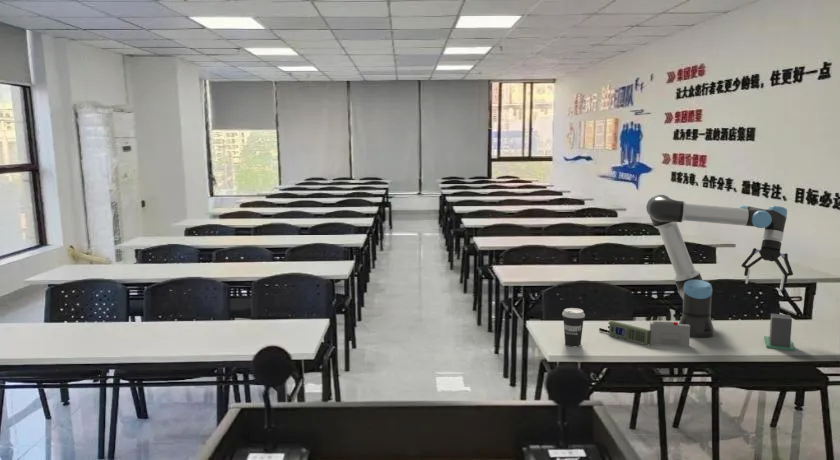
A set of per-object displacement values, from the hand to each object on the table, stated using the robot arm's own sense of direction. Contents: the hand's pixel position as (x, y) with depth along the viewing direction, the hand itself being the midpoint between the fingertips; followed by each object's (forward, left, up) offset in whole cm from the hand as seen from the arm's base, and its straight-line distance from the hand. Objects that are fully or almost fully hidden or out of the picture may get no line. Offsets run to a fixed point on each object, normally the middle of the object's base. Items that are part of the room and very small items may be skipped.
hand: (763, 286), depth 268 cm
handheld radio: (-55, -32, -22) cm, 67 cm away
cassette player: (-36, -33, -22) cm, 54 cm away
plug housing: (+6, -17, -21) cm, 27 cm away
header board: (+6, -14, -22) cm, 27 cm away
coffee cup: (-73, -51, -22) cm, 92 cm away
